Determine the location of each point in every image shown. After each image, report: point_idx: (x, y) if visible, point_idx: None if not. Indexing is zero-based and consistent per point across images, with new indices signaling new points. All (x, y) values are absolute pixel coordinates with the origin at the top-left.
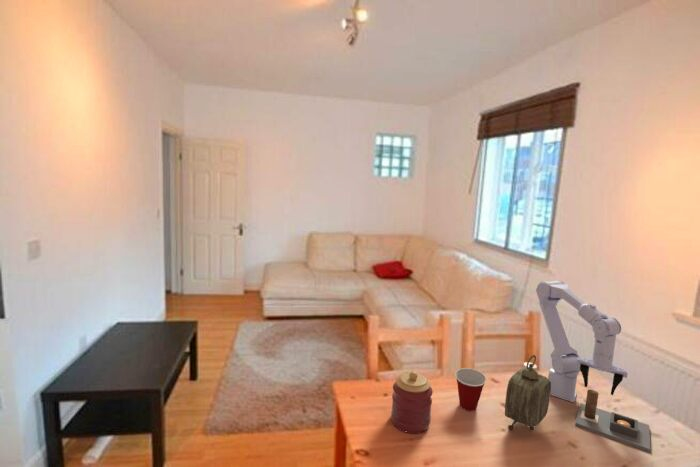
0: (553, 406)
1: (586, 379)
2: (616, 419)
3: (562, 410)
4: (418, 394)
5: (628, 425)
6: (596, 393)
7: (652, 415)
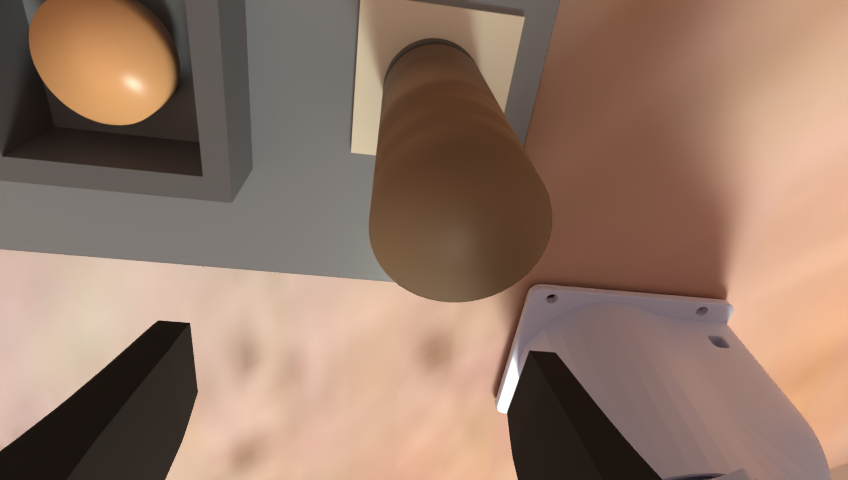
0: (722, 133)
1: (602, 462)
2: (195, 152)
3: (653, 107)
4: None
5: (48, 43)
6: (402, 215)
7: (23, 401)
